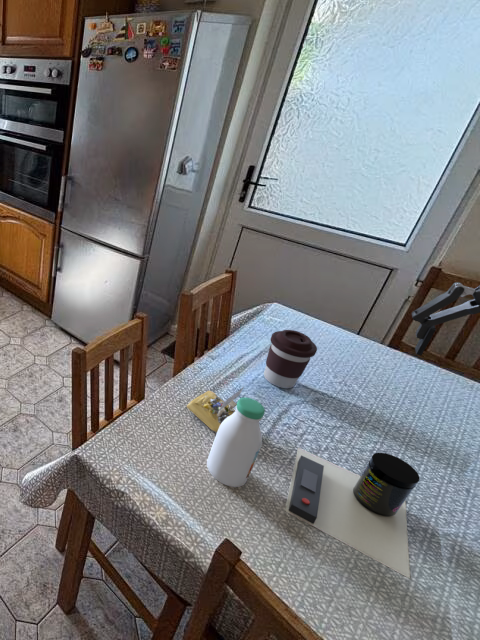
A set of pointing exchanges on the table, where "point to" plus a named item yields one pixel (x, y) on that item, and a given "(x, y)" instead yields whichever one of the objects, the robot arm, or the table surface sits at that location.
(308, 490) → the remote
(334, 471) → the scale
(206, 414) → the yellow snack bag
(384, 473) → the supplement container
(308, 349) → the coffee cup
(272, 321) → the table surface
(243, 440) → the milk bottle
